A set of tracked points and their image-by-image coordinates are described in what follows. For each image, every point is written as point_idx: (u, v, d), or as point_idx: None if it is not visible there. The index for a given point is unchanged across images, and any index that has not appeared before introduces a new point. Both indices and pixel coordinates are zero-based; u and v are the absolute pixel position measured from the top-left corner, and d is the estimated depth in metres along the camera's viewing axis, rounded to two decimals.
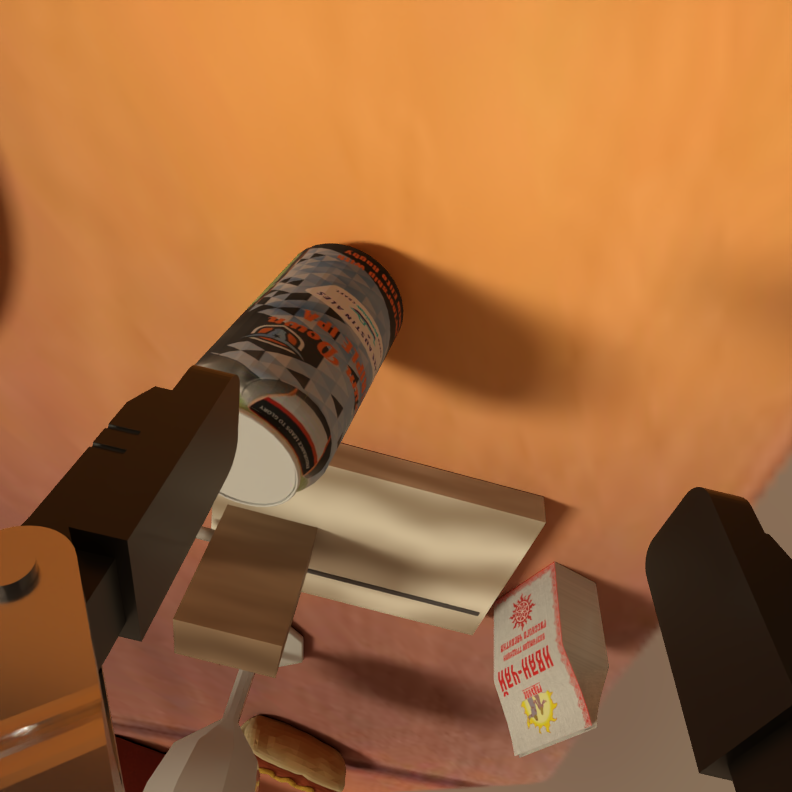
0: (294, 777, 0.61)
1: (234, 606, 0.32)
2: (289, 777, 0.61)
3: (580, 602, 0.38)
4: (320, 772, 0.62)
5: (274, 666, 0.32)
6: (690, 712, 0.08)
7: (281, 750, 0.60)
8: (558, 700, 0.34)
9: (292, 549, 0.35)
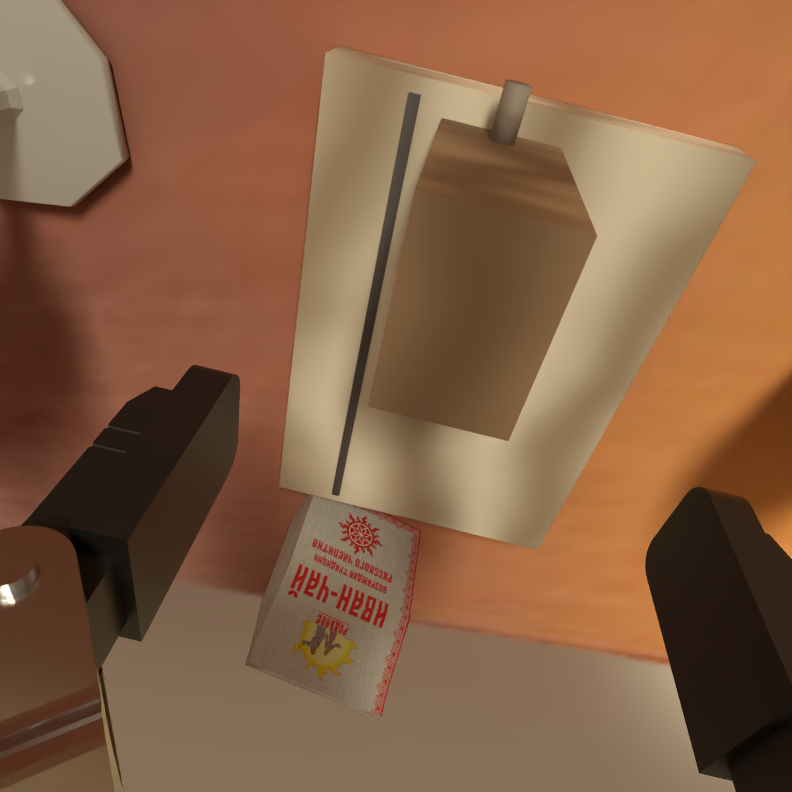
0: None
1: None
2: None
3: None
4: None
5: (419, 413, 0.16)
6: (689, 712, 0.08)
7: None
8: (356, 660, 0.27)
9: None
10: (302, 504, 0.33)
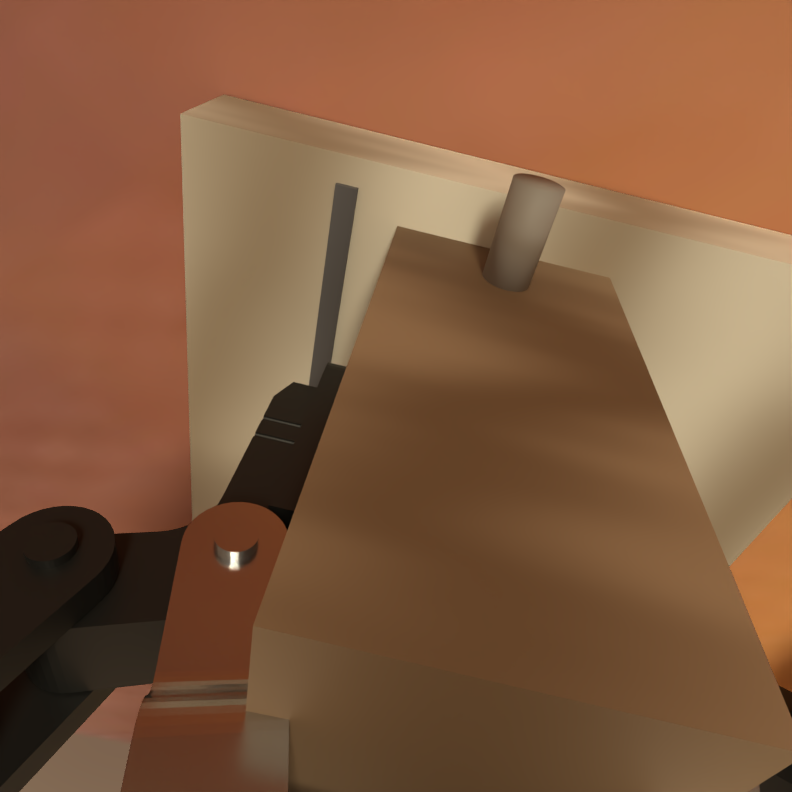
0: None
1: None
2: None
3: None
4: None
5: None
6: None
7: None
8: None
9: None
10: None
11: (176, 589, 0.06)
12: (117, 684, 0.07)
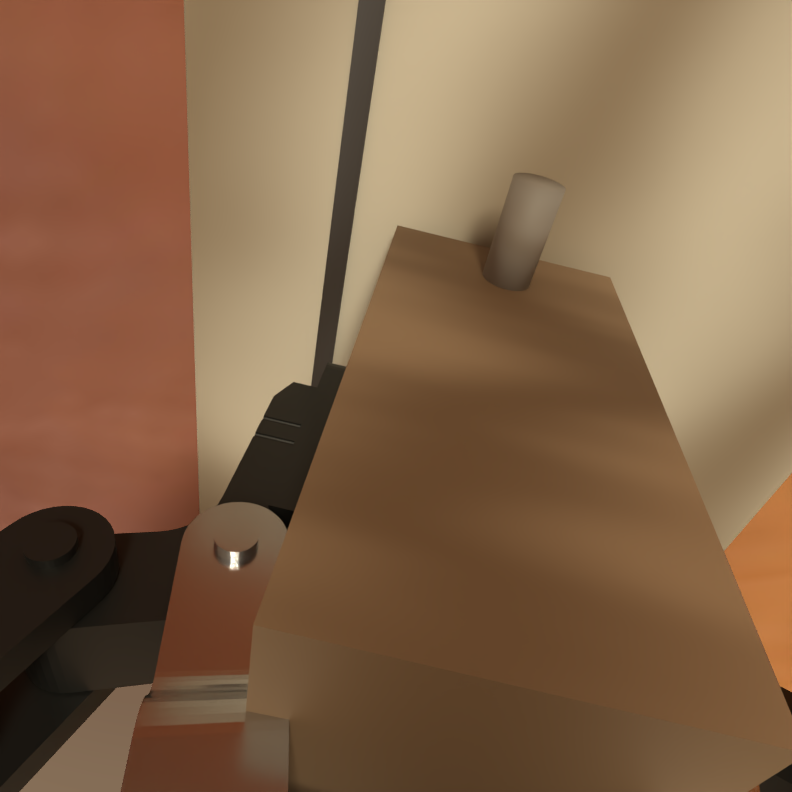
0: None
1: None
2: None
3: None
4: None
5: None
6: None
7: None
8: None
9: None
10: None
11: (176, 589, 0.06)
12: (118, 684, 0.07)
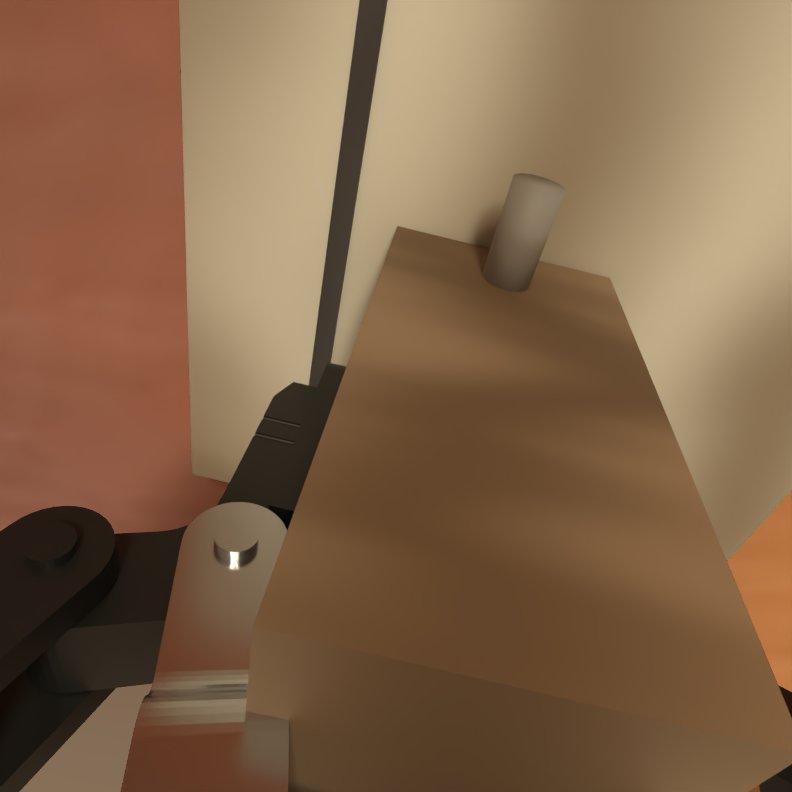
0: None
1: None
2: None
3: None
4: None
5: None
6: None
7: None
8: None
9: None
10: None
11: (176, 589, 0.06)
12: (118, 684, 0.07)
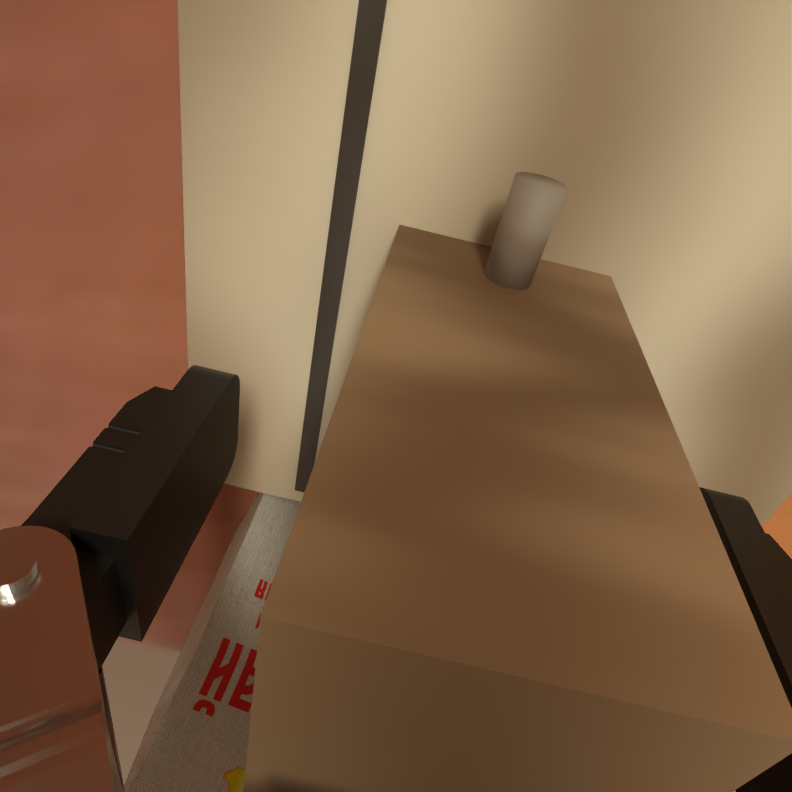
0: None
1: None
2: None
3: None
4: None
5: None
6: None
7: None
8: None
9: None
10: (249, 509, 0.19)
11: None
12: None
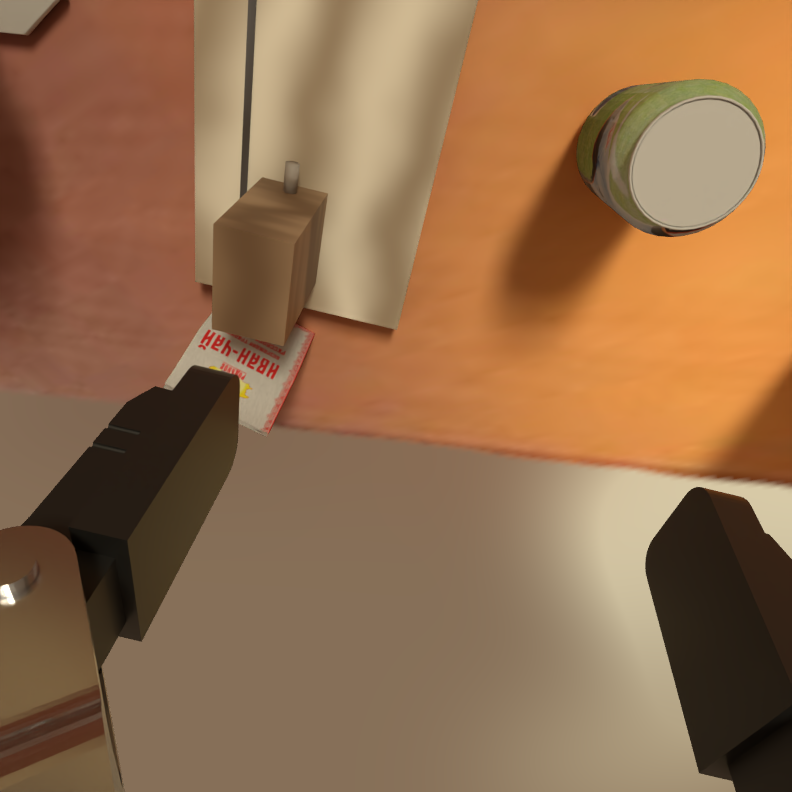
0: None
1: (296, 282, 0.30)
2: None
3: None
4: None
5: (237, 332, 0.31)
6: (689, 713, 0.08)
7: None
8: (251, 397, 0.36)
9: (310, 281, 0.35)
10: None
11: None
12: None
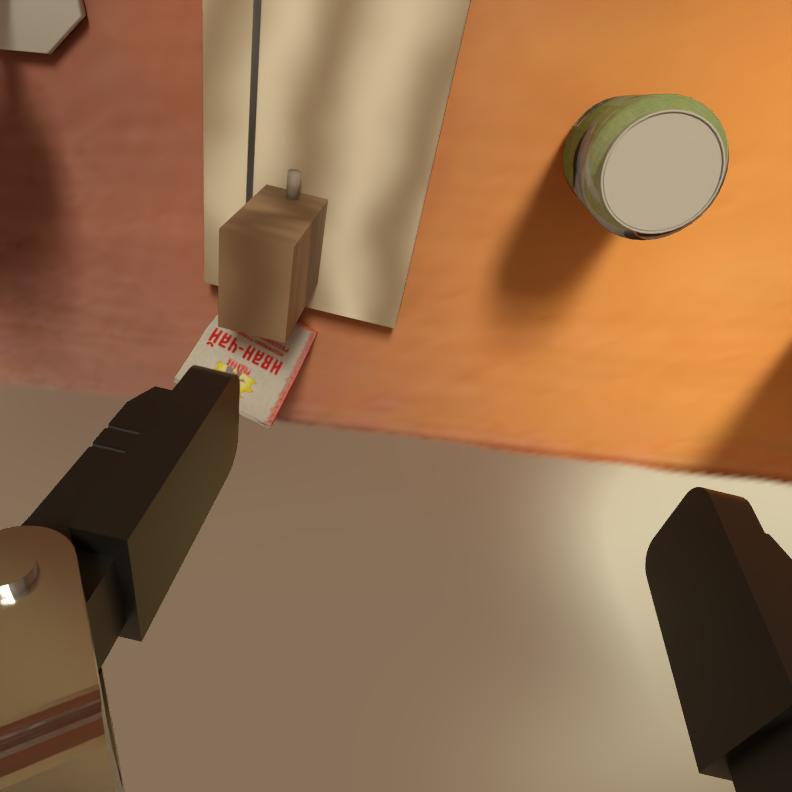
0: None
1: (296, 283, 0.33)
2: None
3: None
4: None
5: (241, 329, 0.33)
6: (689, 713, 0.08)
7: None
8: (256, 391, 0.38)
9: (311, 282, 0.37)
10: None
11: None
12: None
